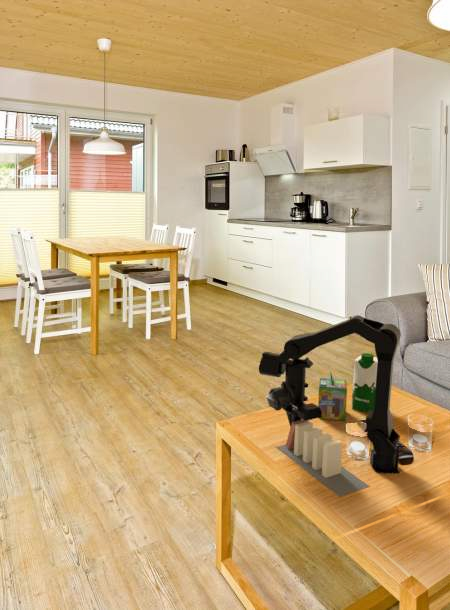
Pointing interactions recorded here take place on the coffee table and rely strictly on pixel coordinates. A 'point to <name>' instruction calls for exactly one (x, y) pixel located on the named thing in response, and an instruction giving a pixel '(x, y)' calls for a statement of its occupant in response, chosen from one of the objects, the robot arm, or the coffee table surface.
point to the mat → (336, 483)
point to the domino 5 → (332, 458)
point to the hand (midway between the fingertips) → (293, 429)
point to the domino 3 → (309, 443)
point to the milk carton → (364, 383)
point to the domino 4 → (319, 449)
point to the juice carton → (332, 398)
